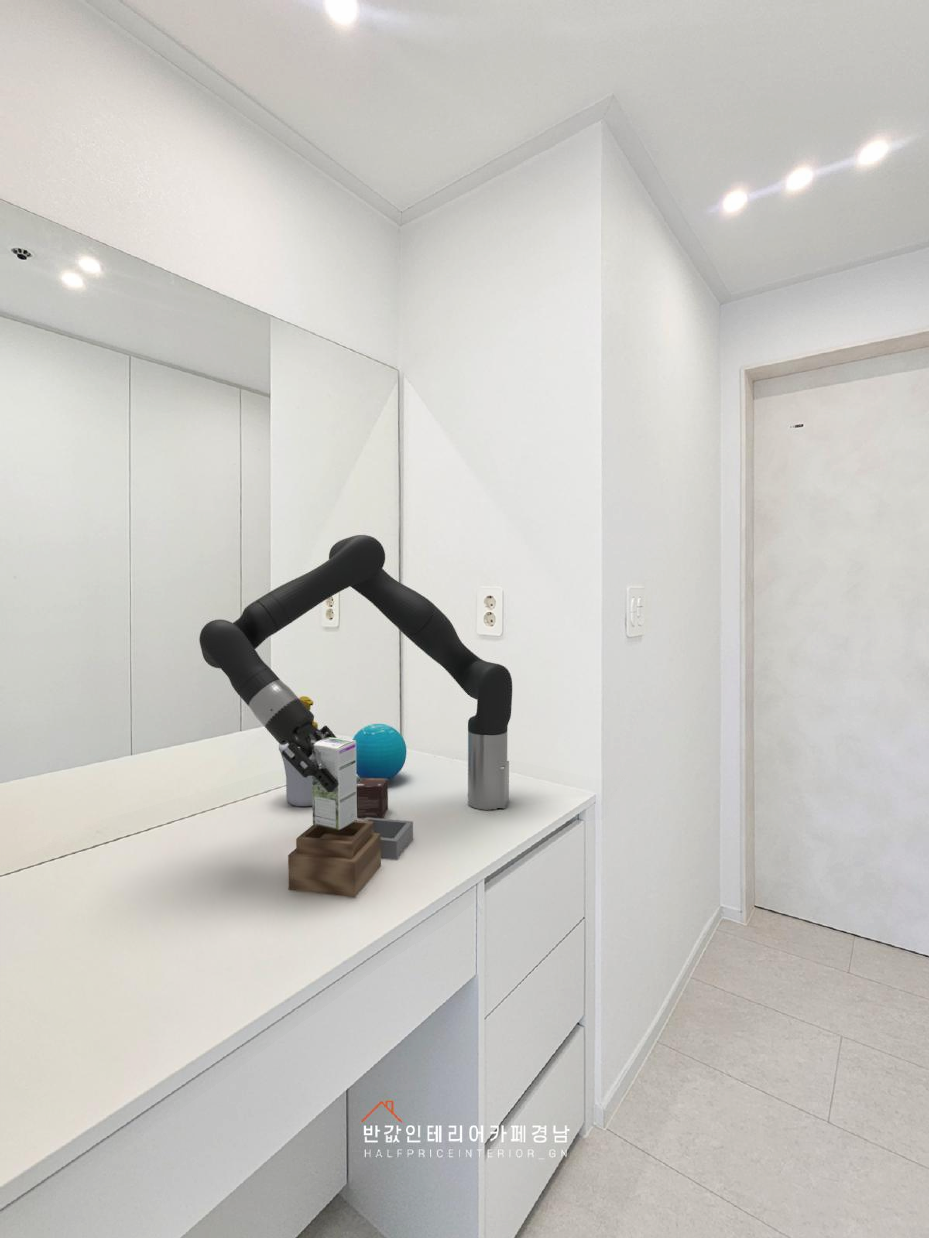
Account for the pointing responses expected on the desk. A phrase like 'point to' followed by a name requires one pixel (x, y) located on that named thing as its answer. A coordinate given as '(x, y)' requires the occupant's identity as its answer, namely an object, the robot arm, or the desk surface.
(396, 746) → the decorative orb
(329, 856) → the walnut raised dock
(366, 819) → the charcoal collar
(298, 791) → the soap bottle
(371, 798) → the box
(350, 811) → the syrup box
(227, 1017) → the desk surface
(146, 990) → the desk surface
